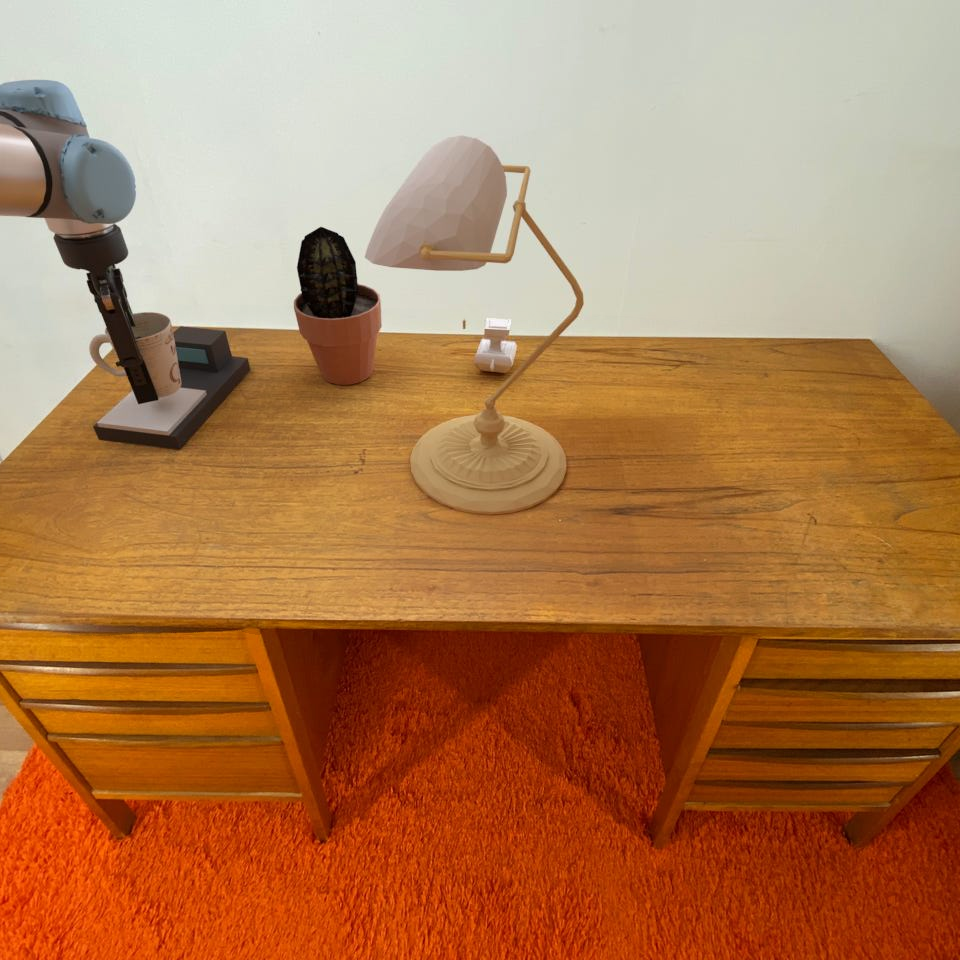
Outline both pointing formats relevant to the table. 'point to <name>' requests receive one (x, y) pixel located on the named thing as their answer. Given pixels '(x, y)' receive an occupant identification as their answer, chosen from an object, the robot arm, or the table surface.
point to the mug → (148, 351)
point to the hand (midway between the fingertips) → (146, 388)
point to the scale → (179, 394)
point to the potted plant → (336, 309)
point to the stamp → (496, 347)
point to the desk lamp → (457, 247)
